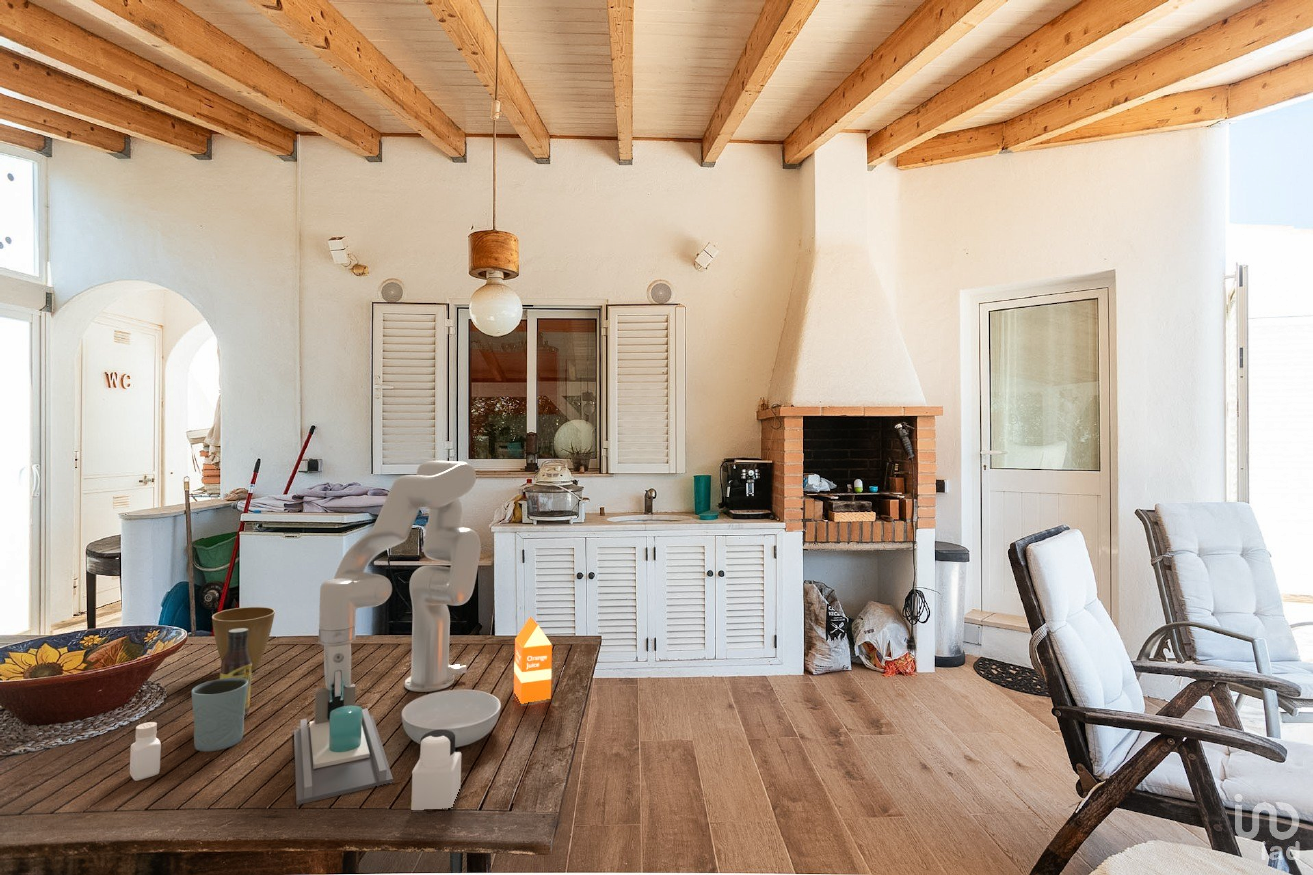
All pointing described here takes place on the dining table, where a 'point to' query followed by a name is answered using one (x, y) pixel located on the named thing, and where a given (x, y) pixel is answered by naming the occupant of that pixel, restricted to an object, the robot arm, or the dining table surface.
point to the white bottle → (436, 772)
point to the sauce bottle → (238, 660)
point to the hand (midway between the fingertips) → (334, 715)
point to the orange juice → (532, 664)
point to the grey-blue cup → (219, 713)
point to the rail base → (339, 767)
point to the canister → (345, 728)
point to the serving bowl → (452, 715)
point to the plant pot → (248, 617)
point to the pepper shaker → (145, 752)
